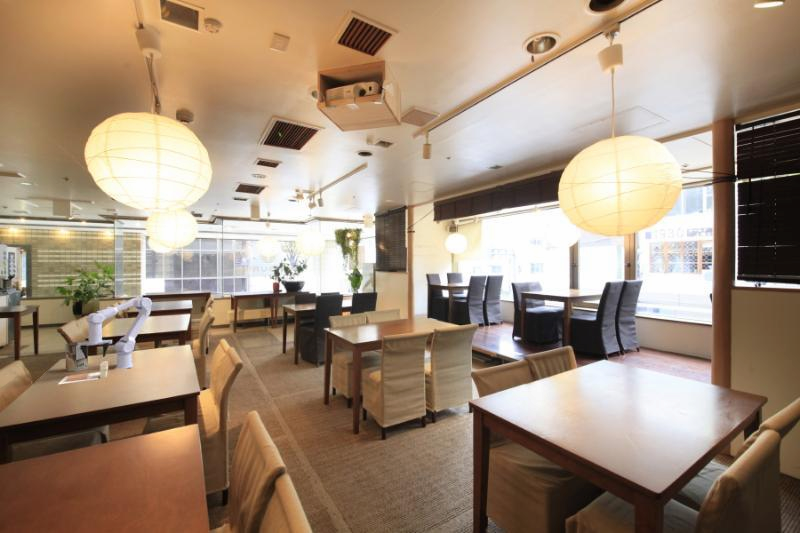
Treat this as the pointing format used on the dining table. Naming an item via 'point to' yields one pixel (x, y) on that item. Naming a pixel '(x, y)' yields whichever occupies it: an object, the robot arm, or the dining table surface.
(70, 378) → the tile
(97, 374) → the mat
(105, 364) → the tall beige block
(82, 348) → the robot arm
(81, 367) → the coffee box
